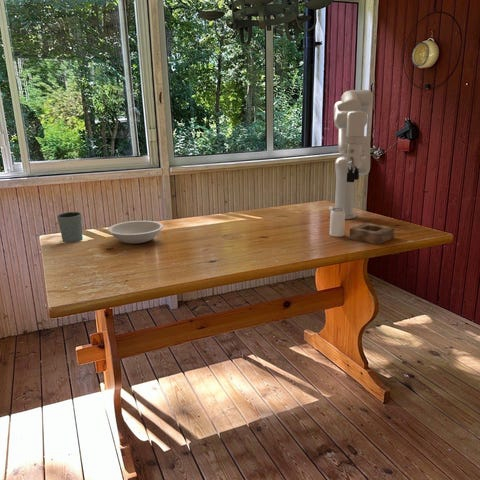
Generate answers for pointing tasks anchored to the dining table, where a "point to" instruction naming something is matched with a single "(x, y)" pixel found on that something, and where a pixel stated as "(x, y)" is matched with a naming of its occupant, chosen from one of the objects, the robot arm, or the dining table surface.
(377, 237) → the socket block
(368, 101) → the robot arm
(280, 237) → the dining table surface
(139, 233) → the soup bowl
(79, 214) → the grey green cup
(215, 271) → the dining table surface
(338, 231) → the can
